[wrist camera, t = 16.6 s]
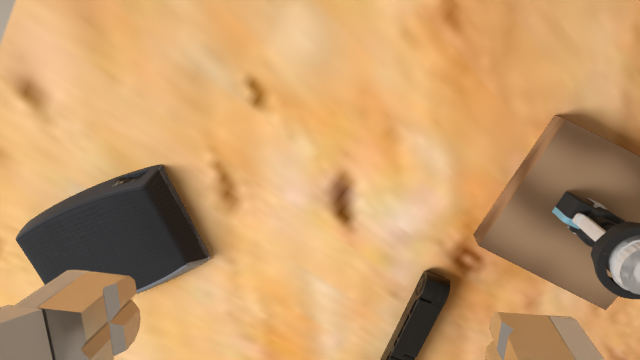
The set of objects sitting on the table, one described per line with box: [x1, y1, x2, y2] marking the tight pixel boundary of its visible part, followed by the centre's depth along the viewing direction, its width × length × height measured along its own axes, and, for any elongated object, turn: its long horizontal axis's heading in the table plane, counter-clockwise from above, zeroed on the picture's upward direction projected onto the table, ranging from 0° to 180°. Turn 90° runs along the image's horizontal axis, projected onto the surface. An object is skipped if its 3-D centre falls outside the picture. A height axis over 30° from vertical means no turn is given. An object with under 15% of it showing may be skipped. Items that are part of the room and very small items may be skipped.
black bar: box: [381, 271, 450, 360], centre depth 44 cm, size 18×3×3 cm, turn 161°
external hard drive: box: [16, 165, 211, 294], centre depth 46 cm, size 13×19×4 cm
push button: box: [552, 191, 640, 299], centre depth 31 cm, size 7×5×10 cm
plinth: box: [473, 115, 640, 310], centre depth 37 cm, size 13×13×2 cm
